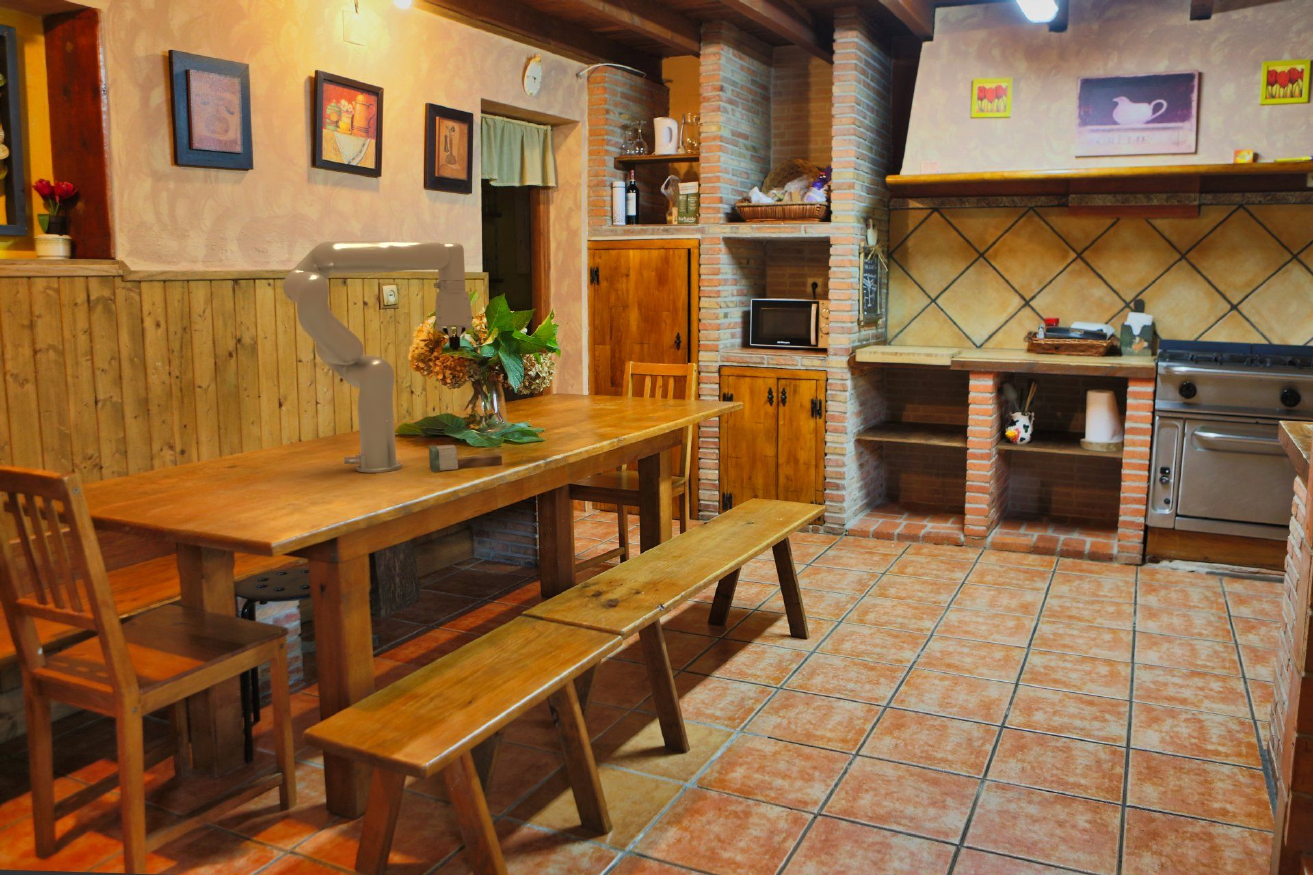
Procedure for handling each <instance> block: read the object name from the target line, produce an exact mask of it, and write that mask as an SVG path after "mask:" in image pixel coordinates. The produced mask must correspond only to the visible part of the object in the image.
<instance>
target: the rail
mask: <svg viewBox="0 0 1313 875" xmlns="http://www.w3.org/2000/svg"><path fill="white" fill-rule="evenodd" d="M435 446H436V445H429V446H428V456H429V468H430V469H431V470H432V472H433V473H440V470H439V450H438V449H437V448H436V447H435ZM457 458H458V469H466V468H467V469H469V468H478V467H492V466H503V457H502V455H501V454H487V455H476V456H475V455H474V456H463V457H462V456H461V457H457Z"/></svg>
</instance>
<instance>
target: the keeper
mask: <svg viewBox="0 0 1313 875" xmlns="http://www.w3.org/2000/svg"><path fill="white" fill-rule="evenodd" d="M434 446H435V447H436V448H437V449H438V450H439V470H440V471H450V470H451V471H452V470H453V471H454V470H458V469H459V468H458V458H459V457H458V448H457V447H456V446H455V445H454V444H444V445H443V444H442V445H434Z"/></svg>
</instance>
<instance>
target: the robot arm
mask: <svg viewBox="0 0 1313 875" xmlns="http://www.w3.org/2000/svg"><path fill="white" fill-rule="evenodd" d="M465 267H466V266H465V250H464V246H463V244H461V243H452V242H450V243H448V242H447V243H440V242H438V241H437V242H435V241H434V242H395V241H388V240H387V241H386V240H384V241H383V240H381V241H380V240H377V241H376V240H374V241H373V240H368V241H367V240H366V241H363V240H362V241H359V240H357V241H356V240H355V241H353V240H352V241H325V242H321V243H319V244H317V245H315V246H314V247H313V249H312V250H311V251H309V252H308V253H307V255H305V257H303V258H302V260H301V261H300V262H299V263H298V264H297V265H296V266H295V267H294V268H293V269H291V271H290V272H289V273H288V274H287V275H286V277H285V278H284V280H283V283H282V289H283V290H282V291H283V294H284V295H285V297H286V298H287V299H288V300H289V301H291V302H293V303H295V304H296V312H297V318H298V322H299V324H300V325H301V328H302V330H303V331H304V332H305V333H306V334H307V336H309V337H310V338H311V339H312V340H313V341H314V342H315V347H314V348H315V351H316V354H317V355H318V357H319V359H320V360H321V361H322V362H323V363H324V364H326V366H327V367H329V369H331V370H332V371H333V372H334V373H335V374H336V375H337V376H339V377H340V378H341V379H343V381H344V382H346V383H347V384H348V385H350V386H351V387H354V388H356V389H359V392H358V399H357V416H358V430H359V431H358V432H359V450H360V452H358V454H357V455H355V456H344V457H343V464H344V465H348V464H349V465H356V466H355V471H357V472H360V473H365V474H367V473H368V474H371V473H373V474H377V473H378V474H379V473H388V472H393V471H398V470H400V469H402V468H403V463H402V462H401V461H398V460H397V453H396V451H397V450H396V436H395V434H396V433H395V419H394V416H395V414H394V398H393V397H394V386H395V372H394V369H393V367H392V365H391V364H390V362H388V360H386V359H385V358H383V357H379V356H374V355H367V354H365V353H364V350H365V349H364V345H363V343H362V340H360V337H358V336H357V335H356V334H355V333H354V332H353V331H352V330H350V329H349V328H348V327H347V326H346V325H345V324H344V323H343V322H341V321H340V319H338V318H337V317H336V315H335V314H334V313H333V312H332V310H331V309H330V305H329V295H330V288H329V283H328V281H327V280H328V279H329V278H330V277H331V275H332V274H338V275H339V274H343V275H345V274H371V273H372V274H378V273H379V274H381V273H395V272H396V273H397V272H403V271H430V270H431V271H437V274H438V280H437V282H435V283H433V288H434V289H437V290H438V291H437V292H436V297H435V307H434V308H435V310H434V311H435V313H434V314H435V318H434V319H435V326H434V329H435V330H436V331H439V332H443V333H445V334H446V335H447V336H448V347H449V349H451V351H452V352H455V351H459V348H461V336H462V335H463V334H464V333H465V332H467V331H469V330H472V329H473V328H474V327H473V314H472V312H473V311H472V305H471V297H470V292H469V291H467V290H466V273H465V271H466V270H465ZM452 327H456V328H455V334H454V333H453V329H452Z"/></svg>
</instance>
